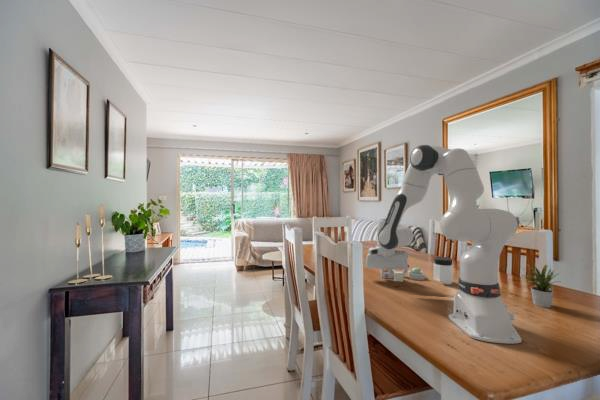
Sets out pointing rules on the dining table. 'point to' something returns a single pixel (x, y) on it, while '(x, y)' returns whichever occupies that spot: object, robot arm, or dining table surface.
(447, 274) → the jar
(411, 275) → the panel
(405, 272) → the ball-tipped lever
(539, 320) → the dining table surface
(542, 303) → the house plant
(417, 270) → the green button
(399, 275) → the slider knob
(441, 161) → the robot arm
